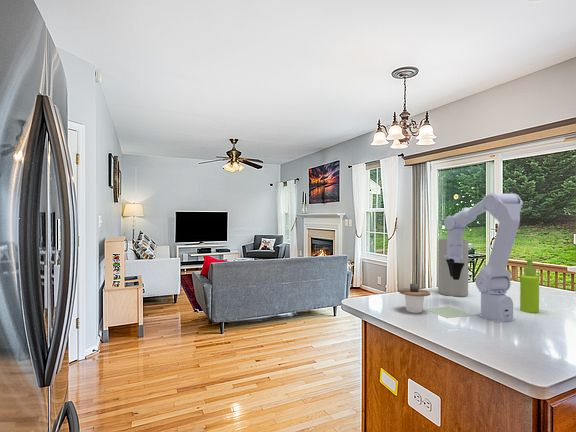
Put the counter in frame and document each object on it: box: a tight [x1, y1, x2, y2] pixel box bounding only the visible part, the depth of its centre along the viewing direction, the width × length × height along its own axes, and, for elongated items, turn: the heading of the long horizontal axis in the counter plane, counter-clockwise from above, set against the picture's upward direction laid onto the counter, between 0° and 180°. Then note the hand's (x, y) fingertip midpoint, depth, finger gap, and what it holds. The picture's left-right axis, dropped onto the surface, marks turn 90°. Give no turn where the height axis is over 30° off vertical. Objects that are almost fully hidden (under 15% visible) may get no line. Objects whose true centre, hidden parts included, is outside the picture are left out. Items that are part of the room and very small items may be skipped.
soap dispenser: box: [519, 257, 543, 314], centre depth 129 cm, size 6×7×20 cm
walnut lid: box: [398, 283, 431, 297], centre depth 127 cm, size 11×11×3 cm
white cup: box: [404, 295, 425, 314], centre depth 127 cm, size 7×7×7 cm
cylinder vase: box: [437, 238, 469, 298], centre depth 157 cm, size 12×12×25 cm
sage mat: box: [424, 306, 474, 319], centre depth 126 cm, size 12×12×1 cm
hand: (454, 278), depth 140 cm, fingers open, 7 cm apart
